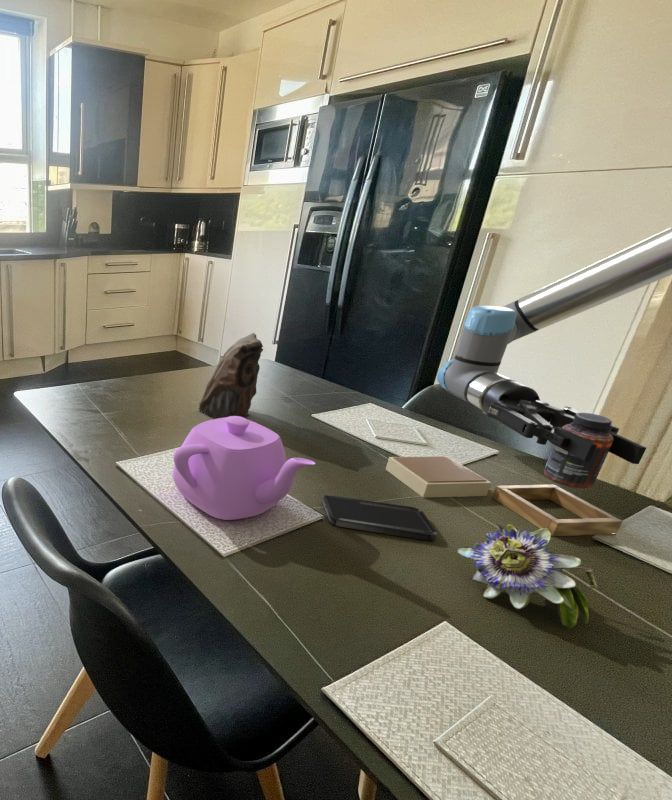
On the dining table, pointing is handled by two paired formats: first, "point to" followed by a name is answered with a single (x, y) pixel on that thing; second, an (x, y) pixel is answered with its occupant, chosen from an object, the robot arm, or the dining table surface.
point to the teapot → (234, 468)
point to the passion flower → (528, 571)
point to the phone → (378, 517)
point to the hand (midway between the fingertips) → (614, 454)
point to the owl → (233, 380)
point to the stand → (437, 476)
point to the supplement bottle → (574, 469)
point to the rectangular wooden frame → (592, 516)
